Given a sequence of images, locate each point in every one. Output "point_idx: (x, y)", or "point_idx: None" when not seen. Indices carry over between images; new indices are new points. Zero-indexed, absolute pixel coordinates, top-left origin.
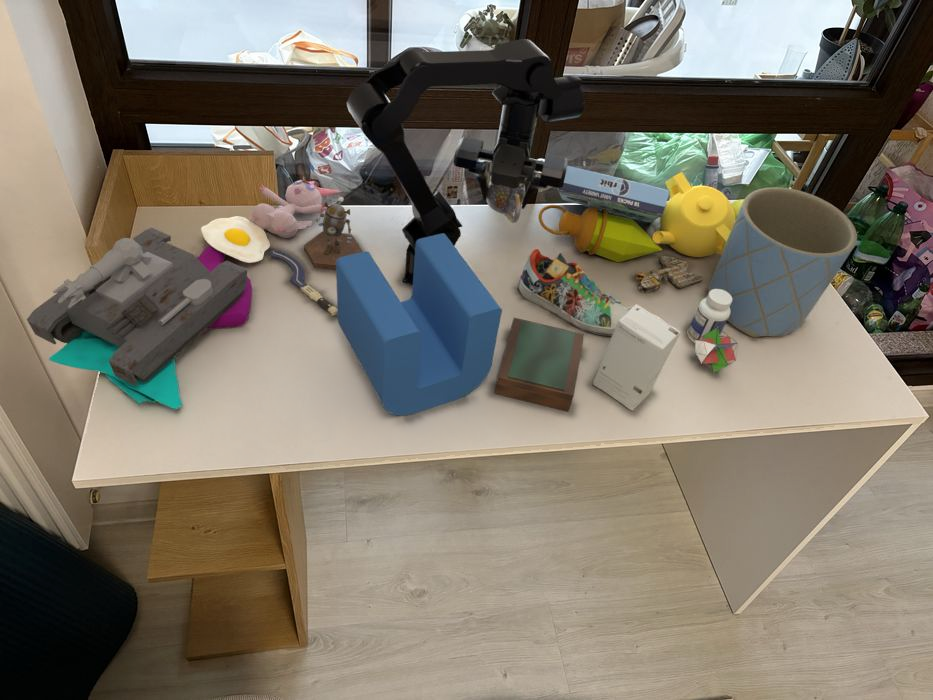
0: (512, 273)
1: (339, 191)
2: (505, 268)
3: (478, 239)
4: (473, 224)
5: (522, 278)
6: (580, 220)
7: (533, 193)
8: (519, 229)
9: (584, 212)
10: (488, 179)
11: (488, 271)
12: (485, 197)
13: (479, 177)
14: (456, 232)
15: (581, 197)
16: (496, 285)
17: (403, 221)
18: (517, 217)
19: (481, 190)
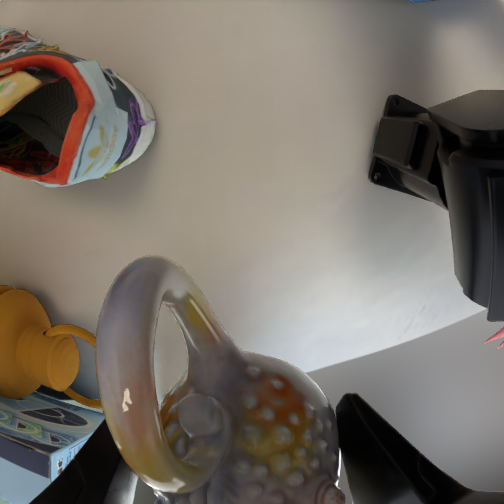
0: (176, 191)
1: (488, 341)
2: (198, 208)
3: (274, 305)
4: (284, 346)
5: (138, 111)
6: (20, 363)
7: (54, 483)
8: (177, 351)
9: (23, 385)
10: (359, 493)
11: (247, 186)
12: (359, 408)
13: (456, 493)
14: (488, 152)
15: (8, 420)
16: (222, 129)
17: (419, 317)
18: (127, 271)
19: (400, 434)
